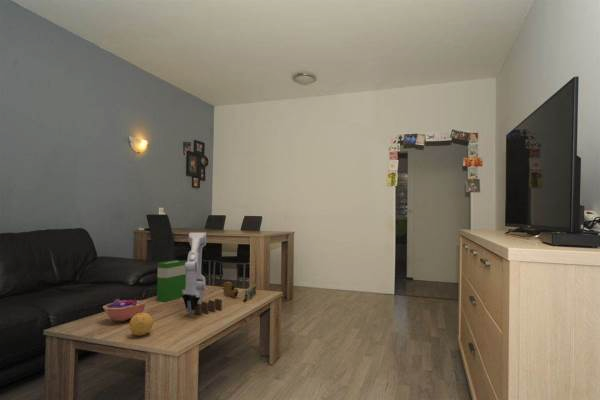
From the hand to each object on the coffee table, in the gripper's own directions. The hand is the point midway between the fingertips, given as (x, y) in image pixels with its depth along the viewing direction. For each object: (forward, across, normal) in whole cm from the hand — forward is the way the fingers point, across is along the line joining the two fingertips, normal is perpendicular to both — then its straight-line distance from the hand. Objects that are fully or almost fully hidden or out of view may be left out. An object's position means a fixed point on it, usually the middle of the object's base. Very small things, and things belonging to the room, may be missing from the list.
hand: (190, 308), depth 188 cm
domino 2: (+4, 0, +4) cm, 6 cm away
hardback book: (+4, -45, +14) cm, 47 cm away
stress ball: (+4, +9, -31) cm, 33 cm away
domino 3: (+4, 0, +9) cm, 10 cm away
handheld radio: (+4, -9, +49) cm, 50 cm away
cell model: (+4, -20, -26) cm, 33 cm away
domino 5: (+4, 0, +18) cm, 18 cm away
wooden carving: (+4, -21, +43) cm, 48 cm away
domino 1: (+2, 0, 0) cm, 2 cm away
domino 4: (+4, 0, +14) cm, 14 cm away
